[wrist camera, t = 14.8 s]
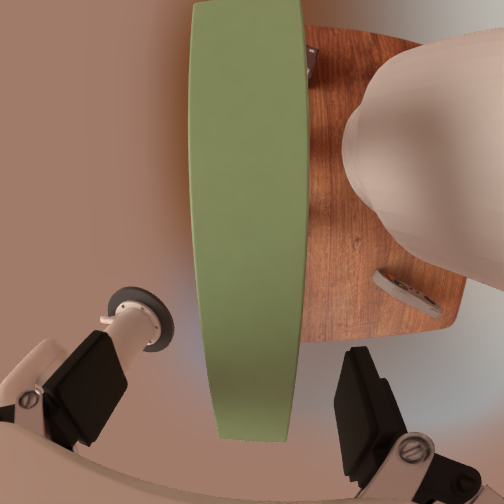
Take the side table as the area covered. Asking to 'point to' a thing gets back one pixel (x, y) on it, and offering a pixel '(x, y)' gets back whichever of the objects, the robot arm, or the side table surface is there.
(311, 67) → the box
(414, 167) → the table lamp
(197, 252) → the green bar
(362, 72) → the side table surface
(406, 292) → the grey flat slab
